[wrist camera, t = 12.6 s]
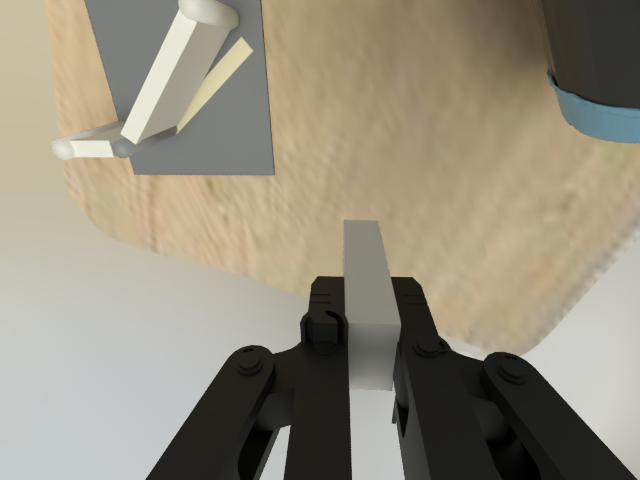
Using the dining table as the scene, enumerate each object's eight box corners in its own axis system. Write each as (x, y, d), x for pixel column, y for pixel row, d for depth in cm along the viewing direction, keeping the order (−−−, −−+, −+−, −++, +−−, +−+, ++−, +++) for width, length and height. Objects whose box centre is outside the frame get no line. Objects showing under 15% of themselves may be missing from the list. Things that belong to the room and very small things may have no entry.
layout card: (255, -63, 33) (254, -64, 32) (274, 174, 44) (273, 175, 44) (70, -57, 34) (66, -58, 33) (136, 173, 45) (134, 174, 45)
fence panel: (226, 2, 35) (185, -17, 26) (242, 16, 35) (208, 2, 26) (166, 115, 41) (115, 133, 32) (181, 126, 41) (135, 146, 32)
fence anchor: (175, 119, 41) (125, 139, 32) (179, 136, 42) (131, 160, 33) (114, 120, 42) (47, 139, 32) (119, 136, 43) (55, 160, 33)
